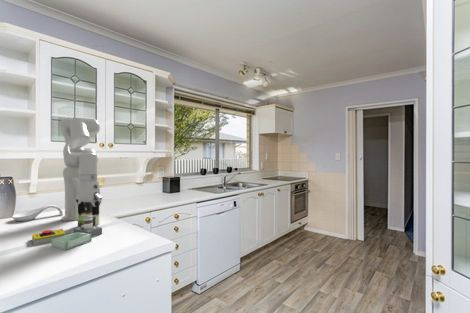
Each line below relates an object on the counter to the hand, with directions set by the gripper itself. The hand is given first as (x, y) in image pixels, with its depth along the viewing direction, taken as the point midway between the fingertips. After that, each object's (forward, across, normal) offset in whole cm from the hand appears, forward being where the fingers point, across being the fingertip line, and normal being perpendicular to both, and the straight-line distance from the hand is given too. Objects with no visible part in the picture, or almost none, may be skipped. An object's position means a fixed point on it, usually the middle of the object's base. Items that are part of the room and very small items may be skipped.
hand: (88, 213), depth 116 cm
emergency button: (+11, +11, +11) cm, 19 cm away
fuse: (+10, +1, 0) cm, 10 cm away
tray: (+10, -4, +11) cm, 15 cm away
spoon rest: (+9, +56, -9) cm, 57 cm away
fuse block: (+10, +1, 0) cm, 10 cm away
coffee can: (+10, +14, -10) cm, 20 cm away
